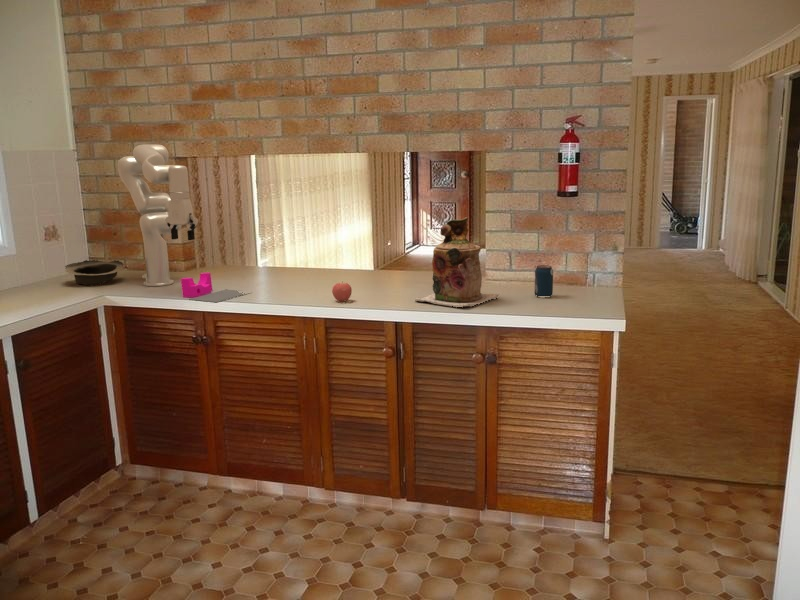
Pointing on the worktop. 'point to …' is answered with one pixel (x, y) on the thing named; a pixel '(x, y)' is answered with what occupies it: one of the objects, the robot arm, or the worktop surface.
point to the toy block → (197, 286)
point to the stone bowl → (94, 271)
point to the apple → (342, 291)
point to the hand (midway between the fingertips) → (183, 239)
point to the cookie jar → (456, 269)
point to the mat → (218, 296)
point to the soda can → (544, 280)
